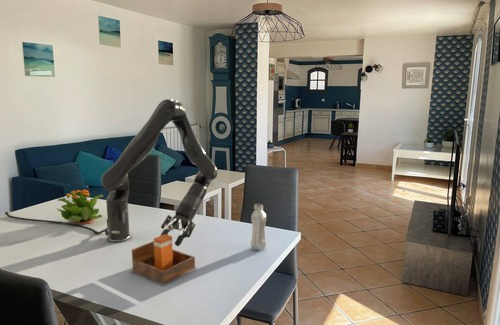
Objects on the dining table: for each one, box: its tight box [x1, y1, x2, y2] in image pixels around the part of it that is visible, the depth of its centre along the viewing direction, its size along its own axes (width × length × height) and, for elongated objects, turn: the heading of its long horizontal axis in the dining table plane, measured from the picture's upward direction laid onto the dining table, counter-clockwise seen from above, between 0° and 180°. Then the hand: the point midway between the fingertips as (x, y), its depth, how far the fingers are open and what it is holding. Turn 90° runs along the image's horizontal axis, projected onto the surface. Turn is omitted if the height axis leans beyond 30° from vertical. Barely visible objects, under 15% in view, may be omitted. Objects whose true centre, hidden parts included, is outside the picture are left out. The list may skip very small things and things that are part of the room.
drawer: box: [131, 240, 196, 285], centre depth 144 cm, size 18×16×9 cm
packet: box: [153, 234, 173, 271], centre depth 143 cm, size 4×6×13 cm
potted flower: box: [56, 189, 104, 226], centre depth 197 cm, size 25×24×18 cm
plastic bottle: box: [250, 203, 267, 251], centre depth 163 cm, size 6×7×20 cm
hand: (168, 242), depth 145 cm, fingers open, 8 cm apart
